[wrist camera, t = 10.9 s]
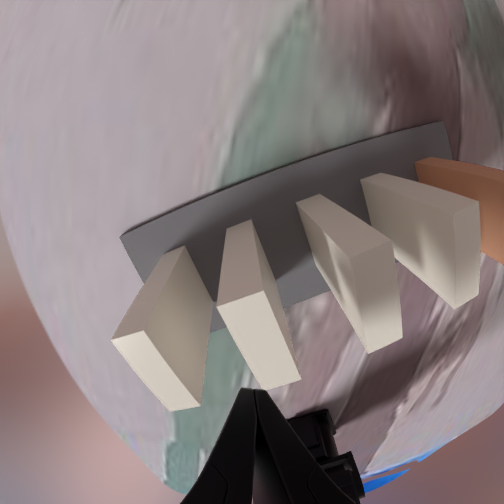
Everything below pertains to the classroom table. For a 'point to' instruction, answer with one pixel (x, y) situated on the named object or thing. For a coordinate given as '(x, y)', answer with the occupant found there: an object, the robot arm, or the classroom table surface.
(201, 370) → the domino
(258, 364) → the domino
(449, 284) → the domino
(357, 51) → the classroom table surface
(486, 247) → the terracotta domino
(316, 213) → the domino
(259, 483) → the robot arm
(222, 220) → the mat
